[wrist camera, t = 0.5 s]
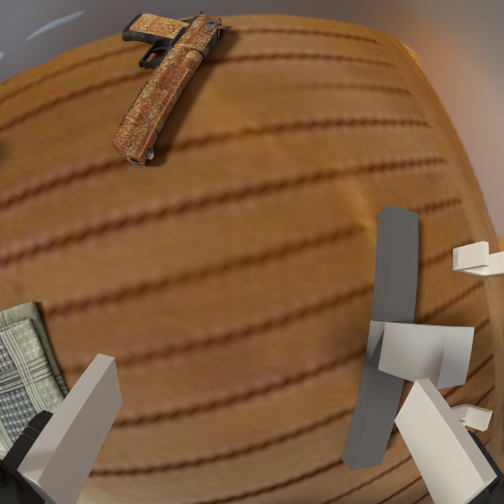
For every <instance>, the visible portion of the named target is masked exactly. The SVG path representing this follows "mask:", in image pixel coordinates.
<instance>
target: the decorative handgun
mask: <svg viewBox="0 0 504 504" xmlns="http://www.w3.org/2000/svg"><path fill="white" fill-rule="evenodd" d="M224 31H226V27H225V26H222V25H221V18H218V19H217V18H213V17H210V16H206V15H204V11H202V12H201V13H200V14H199V15H198V16H196V17H195V18H192V19H188V20H173V19H169V18H164V17H159V16H156V15H153V14H140V15H137V16H136V17H135V18H134V19H133V20H132V21H131V22H130V23H129V25H128V26H127V27H126V28H125V29H124V30H123V32H122V39H123V40H124V41H128V40H137V41H142V42H147V43H152V44H153V45H152V46H151V47H150V49H149V50H148V51H147V52H146V54H145V55H144V56H143V58H142V59H141V60H140V61H139V66H140V68H141V67H150V68H153V69H154V71H153V73H152V74H151V75H150V77H149V78H148V80H147V81H146V83H145V85H144V86H143V87H142V89H141V91H140V92H139V94H138V95H137V97H136V98H135V100H134V102H133V104H132V105H131V107H130V108H129V111H128V112H127V113H126V115H125V117H124V119H123V120H122V122H121V124H120V126H119V127H120V129H119V131H118V132H117V134H116V136H115V138H114V140H113V142H112V144H113V145H114V147H115V149H116V150H117V152H118V153H119V154H121V155H122V156H123V157H125V158H126V159H127V160H129V161H130V162H131V163H133V164H141V165H143V166H144V165H145V163H146V160H147V159H150V160H151V159H153V157H154V153H153V149H152V148H153V146H154V143H155V141H156V139H157V137H158V135H159V133H160V131H161V129H162V127H163V125H164V123H165V122H166V120H167V118H168V116H169V114H170V112H171V110H172V109H173V107H174V105H175V103H176V102H177V100H178V98H179V96H180V95H181V93H182V91H183V89H184V88H185V86H186V84H187V83H188V81H189V79H190V78H191V77H192V75H193V74H194V72H195V71H196V69H197V67H198V66H199V64H200V63H203V62H204V60H205V58H206V57H207V55H208V54H209V52H210V51H211V49H212V48H213V47H214V45H215V44H216V42H217V40H219V39H222V38H224V37H225V35H226V33H225V32H224ZM152 52H153V54H154V53H157V52H166V53H165V54H164V56H163V57H156V58H154V59H153V60H152V61H146V60H147V59H148V58H149V56H150V55H151V54H152Z"/></svg>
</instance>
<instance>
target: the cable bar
mask: <svg viewBox="0 0 504 504" xmlns="http://www.w3.org/2000/svg"><path fill="white" fill-rule="evenodd" d="M417 274H418V213H415V212H412V211H408V210H405V209H402V208H399V207H395V206H390V207H388V208H386V209H384V210H382V211H380V212H378V228H377V253H376V269H375V282H374V293H373V303H372V312H371V320H370V328H369V335H368V342H367V349H366V355H365V361H364V366H363V372H362V377H361V382H360V387H359V392H358V397H357V401H356V406H355V410H354V414H353V418H352V422H351V426H350V430H349V434H348V438H347V441H346V445H345V448H344V452H343V455H342V460H343V461H344V462H345V463H346V464H347V465H348V466H349V468H350V469H351V470H356V469H362V468H367V467H372V466H377V465H381V462H382V459H383V456H384V453H385V450H386V447H387V444H388V441H389V438H390V435H391V431H392V428H393V424H394V420H395V417H396V413H397V409H398V405H399V401H400V397H401V392H402V388H403V383H404V379H406V380H409V381H412V382H415V381H416V380H418V379H427V378H428V379H429V380H430V381H431V383H432V384H433V385H434V386H435V388H436V389H442V388H448V387H453V386H458V385H463V384H465V381H466V377H467V372H468V367H469V361H470V355H471V349H472V342H473V335H474V327H459V326H440V325H425V324H413V322H414V313H415V303H416V291H417Z"/></svg>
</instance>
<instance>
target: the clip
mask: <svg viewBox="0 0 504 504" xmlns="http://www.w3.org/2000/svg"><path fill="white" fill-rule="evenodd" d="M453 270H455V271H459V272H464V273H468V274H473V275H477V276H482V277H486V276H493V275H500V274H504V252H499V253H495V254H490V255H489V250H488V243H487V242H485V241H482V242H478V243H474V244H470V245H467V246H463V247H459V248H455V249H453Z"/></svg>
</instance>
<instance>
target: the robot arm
mask: <svg viewBox="0 0 504 504" xmlns="http://www.w3.org/2000/svg"><path fill="white" fill-rule="evenodd" d="M122 404H123V402H122V397H121V392H120V387H119V382H118V376H117V370H116V364H115V358H114V357H110V356H106V355H103V354H98V355H97V356H96V358H95V359H94V360H93V361H92V363H91V364H90V365H89V367H88V368H87V369H86V371H85V372H84V373H83V375H82V376H81V377H80V379H79V380H78V381H77V383H76V384H75V385H74V387H73V388H72V389H71V391H70V392H69V394H68V395H67V396H66V398H65V399H64V400H63V402H62V403H61V405H60V406H59V408H58V409H57V410H56V412H55V413H54V414H53V413H51V412H49V411H46V410H43V411H41V412H40V413H38V414H36V415H35V416H34V417H33V418H32V419H31V421H30V422H29V423H28V425H27V427H25V429H24V430H23V432H22V434H20V436H19V437H18V439H17V440H16V441H15V443H14V444H13V446H12V447H11V449H10V450H9V451H8V453H7V454H6V456H5V457H4V459H3V460H1V459H0V504H45V502H46V503H47V504H76V503H77V500H78V498H79V496H80V493H81V491H82V489H83V487H84V484H85V482H86V480H87V478H88V475H89V473H90V471H91V469H92V467H93V464H94V462H95V460H96V458H97V456H98V454H99V452H100V449H101V447H102V445H103V443H104V441H105V439H106V437H107V435H108V433H109V431H110V429H111V427H112V424H113V422H114V420H115V418H116V416H117V414H118V412H119V410H120V408H121V406H122ZM394 421H395V423H396V425H397V427H398V429H399V431H400V433H401V435H402V437H403V439H404V441H405V443H406V445H407V447H408V449H409V451H410V453H411V455H412V457H413V459H414V461H415V463H416V465H417V467H418V469H419V471H420V473H421V475H422V477H423V480H424V482H425V484H426V486H427V488H428V490H429V492H430V495H431V497H432V499H433V501H434V503H435V504H504V474H503V473H502V472H501V471H500V469H499V468H498V466H497V464H496V463H495V461H494V460H493V458H492V457H491V455H490V454H489V453H488V452H487V450H486V448H485V447H484V446H483V444H482V442H481V441H480V439H479V438H478V437H477V436H476V435H475V434H474V433H472V432H471V431H470V430H469V431H467V430H466V429H465V427H464V426H463V425H462V423H461V422H460V420H459V419H458V418H457V416H456V415H455V413H454V412H453V411H452V409H451V408H450V407H449V405H448V404H447V402H446V401H445V400H444V398H443V397H442V396H441V394H440V393H439V392H438V390H437V389H436V388H435V386H434V385H433V384H432V383H431V381H430V380H429V379H428V378H427V379H418V380H416V381H415V383H414V385H413V387H412V389H411V391H410V393H409V395H408V397H407V399H406V401H405V403H404V404H403V406H402V408H401V410H400V412H399V413H398V415H397V417H396V419H395V420H394Z"/></svg>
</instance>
